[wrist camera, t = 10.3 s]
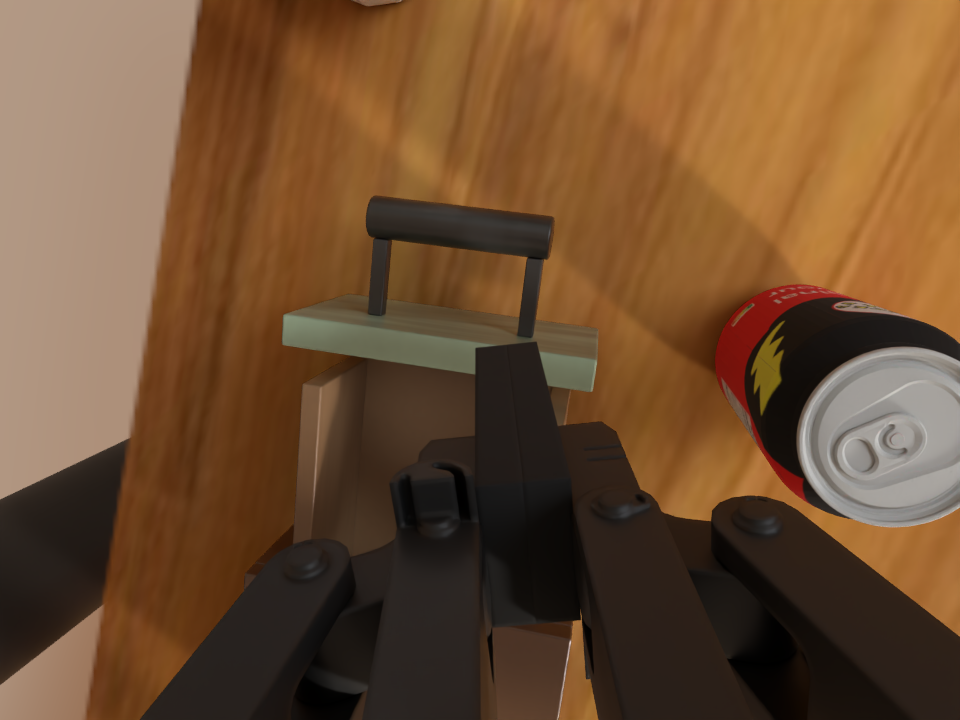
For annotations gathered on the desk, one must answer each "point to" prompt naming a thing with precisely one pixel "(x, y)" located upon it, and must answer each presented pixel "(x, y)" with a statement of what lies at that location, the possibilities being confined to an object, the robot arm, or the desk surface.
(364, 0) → the white cup
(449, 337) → the drawer
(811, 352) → the beverage can
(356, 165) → the desk surface
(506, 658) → the cabinet
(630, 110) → the desk surface
